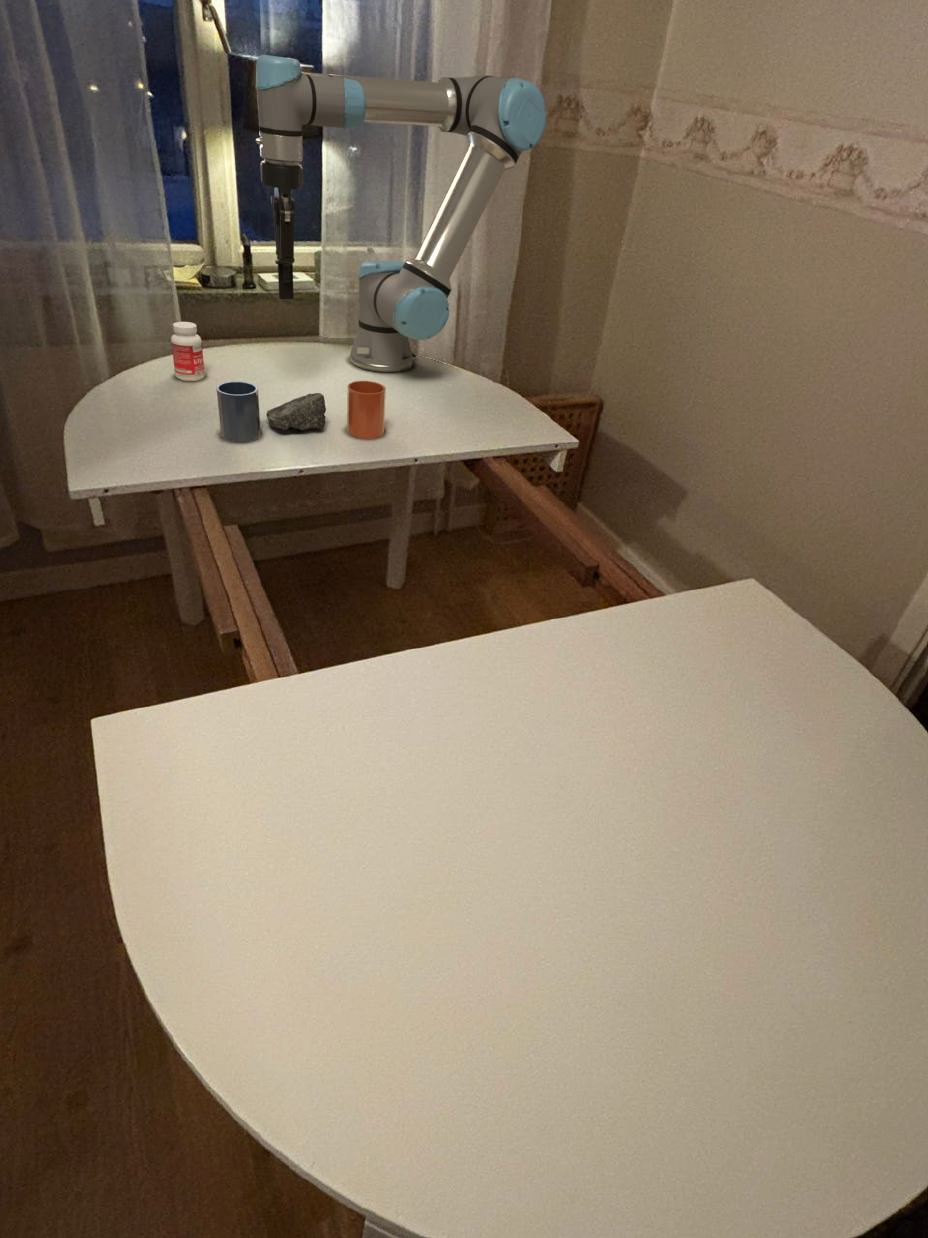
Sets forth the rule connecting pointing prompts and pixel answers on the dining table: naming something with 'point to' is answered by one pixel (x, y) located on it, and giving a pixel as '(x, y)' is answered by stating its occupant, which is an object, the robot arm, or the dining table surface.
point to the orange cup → (365, 409)
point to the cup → (238, 411)
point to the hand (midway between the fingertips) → (286, 297)
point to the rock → (299, 413)
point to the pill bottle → (187, 352)
